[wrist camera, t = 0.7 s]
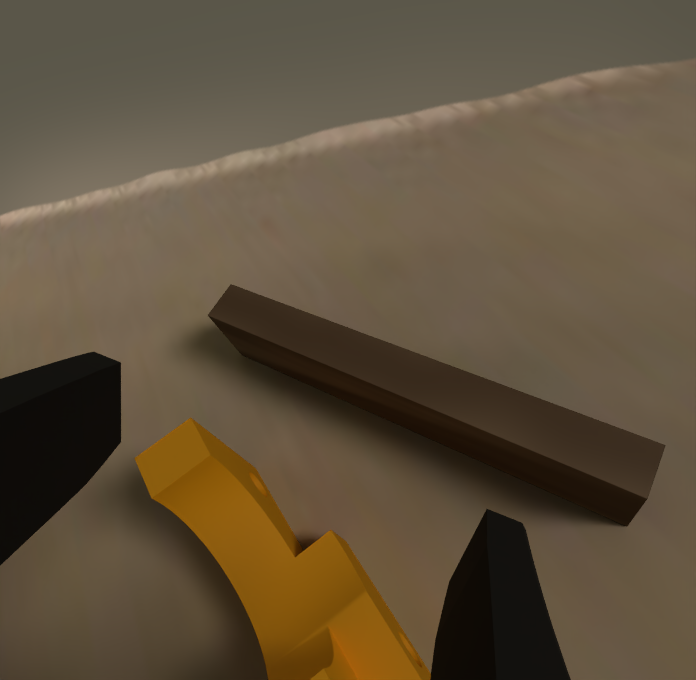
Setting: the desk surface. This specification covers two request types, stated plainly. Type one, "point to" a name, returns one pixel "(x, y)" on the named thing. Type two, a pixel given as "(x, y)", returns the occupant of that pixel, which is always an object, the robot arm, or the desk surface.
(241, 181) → the desk surface
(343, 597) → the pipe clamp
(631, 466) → the rail
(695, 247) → the desk surface
